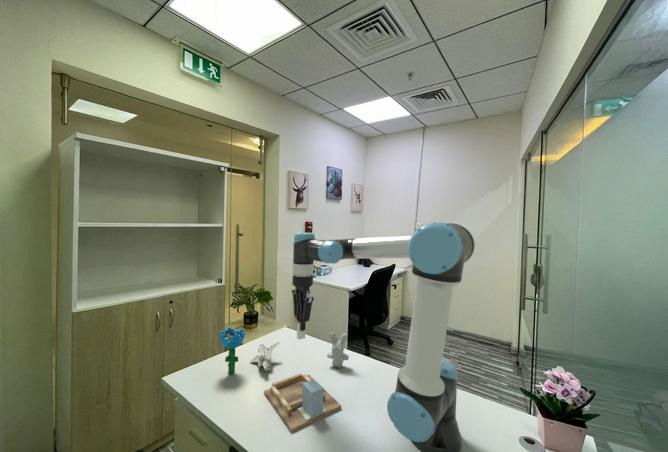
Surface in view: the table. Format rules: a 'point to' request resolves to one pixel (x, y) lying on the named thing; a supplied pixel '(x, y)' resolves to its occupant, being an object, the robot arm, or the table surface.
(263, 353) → the toy spacecraft
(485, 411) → the table surface
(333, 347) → the bunny figurine
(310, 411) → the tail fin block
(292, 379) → the jig
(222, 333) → the toy flower
